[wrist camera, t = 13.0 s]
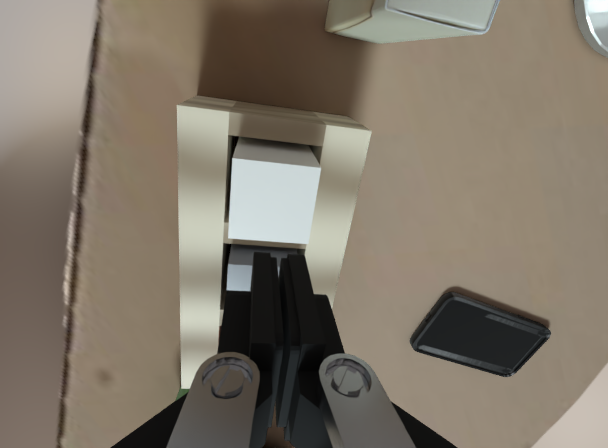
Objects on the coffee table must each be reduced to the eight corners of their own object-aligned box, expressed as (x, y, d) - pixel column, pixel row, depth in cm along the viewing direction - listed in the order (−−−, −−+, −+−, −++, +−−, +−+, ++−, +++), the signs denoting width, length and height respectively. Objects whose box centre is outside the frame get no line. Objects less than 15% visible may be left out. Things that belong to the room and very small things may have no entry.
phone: (510, 378, 40) (408, 349, 35) (504, 370, 41) (404, 341, 36) (555, 331, 37) (451, 293, 33) (547, 324, 38) (445, 286, 34)
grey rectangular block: (234, 225, 25) (228, 264, 20) (292, 229, 26) (300, 268, 21) (231, 274, 27) (224, 320, 22) (286, 277, 28) (291, 323, 23)
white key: (239, 136, 21) (232, 157, 16) (308, 144, 22) (321, 167, 17) (235, 201, 23) (227, 238, 18) (298, 207, 24) (308, 244, 19)
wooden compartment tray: (196, 95, 23) (177, 104, 18) (348, 116, 25) (371, 130, 20) (194, 334, 32) (181, 388, 27) (305, 337, 34) (314, 388, 29)
